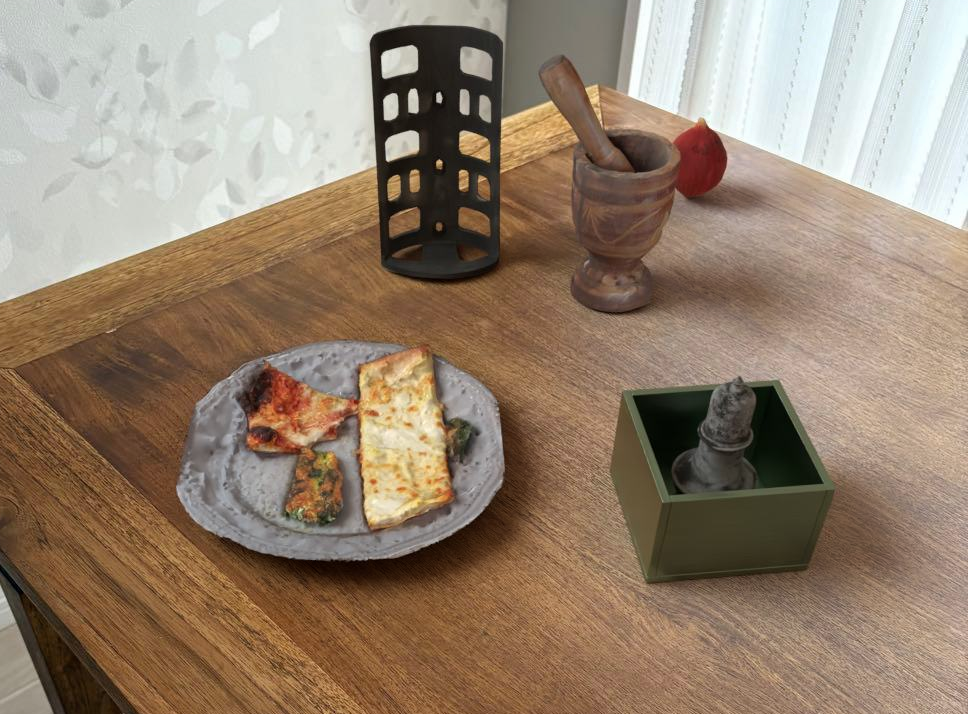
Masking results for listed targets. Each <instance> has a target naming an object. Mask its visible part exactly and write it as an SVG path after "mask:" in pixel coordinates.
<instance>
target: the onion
mask: <svg viewBox="0 0 968 714" xmlns="http://www.w3.org/2000/svg"><path fill="white" fill-rule="evenodd" d="M672 143H674V144H675V145H676V146H677V149H678V151H680V153H681V160H680V164H679V171H678V176H677V183H676V186H675V190H676V191H677V192H678V193H680V194H681V195H682V196H683V197H684V198H686V199H693V198H696V197H700V196H702V195H705V194H706V193H708V192H709V191H711V190H713V189H714V188H716V187H717V186H718V185H719V184H720V183H721V182H722V180H723V178H724V175H725V172H726V170H727V166H728V152H727V150H726V147H725V145H724V144H723V141H722V139H721V137H720V136H719V134H718V133H717V132H716V131H715V130H713V129H712V128H710V126H709V125H708V123H707V121H706V119H705V118H704V117H698V119H697V122H696V123H695V126H693V127H691V128H688V129H686V130H685V131H684V132H682V133H680V134H679V135H678V136H677V137H676V138H675V139H674V140H673V141H672Z"/></svg>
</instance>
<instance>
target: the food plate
mask: <svg viewBox="0 0 968 714" xmlns="http://www.w3.org/2000/svg"><path fill="white" fill-rule="evenodd" d="M433 351H434V350H433V348H432V347H431V345H430V344H429V343H420V344H419V345H417V346H415V347H411V348H410V347H408V346H406V345H402V344H400V343H393V342H380V341H375V340H373V341H372V340H371V341H366V340H356V339H346V338H339V339H332V340H320V341H311V342H306V343H301V344H298V345H294V346H291V347H288V348H285V349H281V350H279V351H275V352H272V353H268V354H266V355H262V356H258V357H255V358H253V359H251V360H247V361H245V362H243V363H242V364H241V365H239V366H238V367H236V368H235V369H234V370H232V371H231V373H229V374H227V377H226V378H224V379H223V380H221V379H220V381H217V382H216V383H215V384H214V385H213V386H211V388H210V389H209V390H208V391H207V392H206V393H205V395H203V397H201V398H200V400H198V402H196V403H195V405H194V406H193V409H192V410H193V411H192V414H191V416H190V421H189V427H188V430H187V434H186V440H185V443H184V448H183V454H182V456H181V460H180V468H179V472H181V473H180V474H179V475H178V479H177V483H176V485H175V486H176V495H177V496H178V498H179V501H180V504H181V505H182V506H183V507H184V510H185V512H186V513H187V514H188V515H189V516H190V518H191V519H193V521H194V522H195V523H196V524H198V525H200V526H201V527H202V528H203V529H204V530H205V531H208V532H211V533H213V535H215V536H219V538H228V539H230V540H231V542H232V541H233V542H234V543H237V544H240V545H241V546H243V547H245V548H247V549H248V550H253V551H255V552H258V553H261V554H268V555H269V556H271V555H272V556H275V557H283V558H287V559H294V560H299V561H302V560H303V561H308V560H309V561H311V560H312V561H315V560H316V561H326V562H330V563H332V560H333V561H337V560H338V561H339V562H341V561H345V563H348V562H350V561H352V562H355V561H356V560H357V561H368V560H379V559H380V560H383V559H395V558H400V557H404V556H406V555H409V554H412V553H414V552H417V551H420V550H421V548H426V547H429V546H430V545H431V544H432V545H435V544H436V542H437V543H439V541H443V540H444V539H446V538H447V537H450V536H452V535H454V534H455V533H456V532H459V531H460V530H461V529H463V528H466V525H469V524H471V523H472V522H473V521H474V520H475V519H476V518H477V517H478V516H480V514H482V513H483V511H486V508H487V506H489V505H490V503H491V502H492V501H493V499H494V497H495V495H496V494H497V492H498V491H499V490H500V489H501V488H502V486H503V484H504V483H505V482H506V479H505V477H506V476H505V472H506V468H505V465H504V463H505V455H504V447H503V446H504V445H503V432H502V425H501V421H500V418H501V415H500V408H499V400H497V398H496V397H495V394H494V393H493V392H492V390H491V389H489V387H488V386H487V385H486V384H485V383H483V382H482V381H481V380H479V379H478V378H477V377H475V376H474V375H473V374H471V373H470V372H467V371H465V370H464V369H461V368H459V367H457V366H456V365H455V364H454V363H451V362H450V361H449V360H447V358H446V357H445V356H443V355H437V354H436V353H433Z"/></svg>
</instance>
